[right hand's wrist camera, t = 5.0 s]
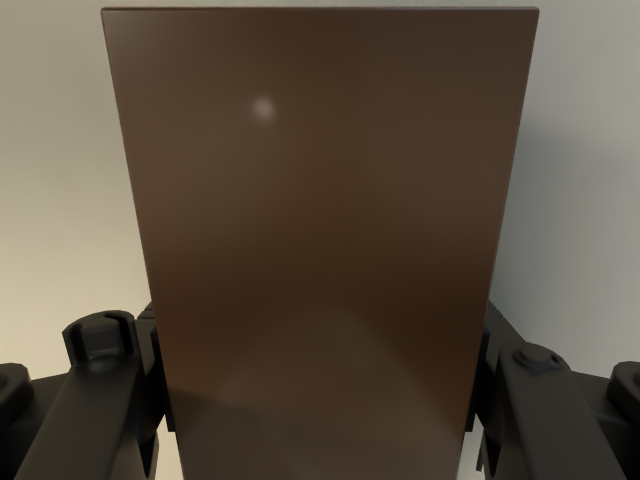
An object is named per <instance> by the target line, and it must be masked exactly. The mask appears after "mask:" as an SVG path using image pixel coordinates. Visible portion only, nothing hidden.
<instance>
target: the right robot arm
mask: <svg viewBox="0 0 640 480" xmlns="http://www.w3.org/2000/svg"><path fill="white" fill-rule="evenodd" d="M62 335H63V338H64V342H65V345H66V349H67V352H68V356H69V359H70V363H71V368H70V370H69V372H68V373H65V374H60V375H55V376H50V377H46V378H41V379H36V380H31V379H30V376H29V373H28V370H27V368H26V367H25V366H23V365H22V364H16V363H6V364H0V480H155V474H156V466H157V459H158V451H159V441H158V435H157V428H158V426H159V424H160V422H161V420H162V418H163V416H164V414H165V417H166V423H167V428H168V432H175V428H174V423H173V417H172V412H171V406H170V400H169V395H168V389H167V384H166V378H165V372H164V367H163V361H162V355H161V350H160V344H159V339H158V333H157V327H156V322H155V316H154V311H153V305H152V301H151V302H150V303H149V304H148V306H147V307H146V308H145V310H144V311H142V313H141V314H140V315H139V316H138V317H137V319H136V320H134V316H133V315H132V314H130V313H129V312H126V311H121V310H111V311H103V312H98V313H93V314H91V315H88V316H85V317H83V318H80V319H78V320H77V321H75V322H73V323H71V324H70V325H68V326H67V327H66V328H65V329H64V331H63V332H62ZM475 413H476V414H477V416H478V418H479V420H480V422H481V423H482V425H483V427H484V430H483V435H482V440H481V445H480V450H479V455H478V460H477V466H476V471H480V472H481V470H482V465H484V473H485V480H640V362H633V361H627V362H620V363H618V364H617V365H615V366H614V368H613V371H612V374H611V377H610V379H608V378H603V377H598V376H593V375H588V374H583V373H578V372H574V371H571V369H570V367H569V366H568V364H567V363H566V362H565V361H564V359H563V358H562V357H560V356H559V355H557V354H556V353H554V352H553V351H551V350H549V349H547V348H545V347H542V346H540V345H537V344H533V343H529V342H525V341H524V339H523V338H522V337H521V336H520V335H519V334H518V333H517V331H516V330H515V329H514V328H513V327H512V326H511V324H510V323H509V322H508V321H507V320H506V319H505V318H503V315H502V314H501V313H500V312H499V311H498V310H496V307H495V306H494V305H493V304H492V303H491V301H490V300H488V305H487V311H486V316H485V322H484V328H483V333H482V339H481V345H480V350H479V356H478V361H477V367H476V373H475V378H474V384H473V390H472V395H471V401H470V407H469V412H468V418H467V423H466V429H465V432H472V429H473V424H474V419H475Z"/></svg>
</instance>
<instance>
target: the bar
mask: <svg viewBox="0 0 640 480" xmlns="http://www.w3.org/2000/svg"><path fill="white" fill-rule="evenodd" d="M100 13H101V19H102V24H103V30H104V35H105V41H106V47H107V52H108V58H109V64H110V69H111V75H112V80H113V86H114V92H115V97H116V103H117V108H118V114H119V120H120V125H121V131H122V137H123V142H124V148H125V153H126V159H127V165H128V170H129V176H130V181H131V187H132V193H133V198H134V204H135V210H136V215H137V221H138V226H139V232H140V238H141V243H142V249H143V254H144V260H145V266H146V271H147V277H148V282H149V288H150V294H151V299H152V305H153V311H154V316H155V322H156V327H157V333H158V339H159V344H160V350H161V355H162V361H163V367H164V372H165V378H166V384H167V389H168V395H169V400H170V406H171V412H172V417H173V423H174V428H175V434H176V440H177V445H178V451H179V457H180V462H181V468H182V473H183V479H184V480H457V474H458V468H459V463H460V457H461V452H462V446H463V440H464V435H465V429H466V423H467V418H468V412H469V407H470V401H471V395H472V390H473V384H474V378H475V373H476V367H477V361H478V356H479V350H480V345H481V339H482V333H483V328H484V322H485V316H486V311H487V305H488V300H489V294H490V288H491V283H492V277H493V271H494V266H495V260H496V255H497V249H498V243H499V238H500V232H501V226H502V221H503V215H504V209H505V204H506V198H507V193H508V187H509V181H510V176H511V170H512V164H513V159H514V153H515V148H516V142H517V136H518V131H519V125H520V119H521V114H522V108H523V102H524V97H525V91H526V86H527V80H528V74H529V69H530V63H531V57H532V52H533V46H534V41H535V35H536V29H537V24H538V18H539V8H537V7H104V8H102V9H101V12H100Z"/></svg>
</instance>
